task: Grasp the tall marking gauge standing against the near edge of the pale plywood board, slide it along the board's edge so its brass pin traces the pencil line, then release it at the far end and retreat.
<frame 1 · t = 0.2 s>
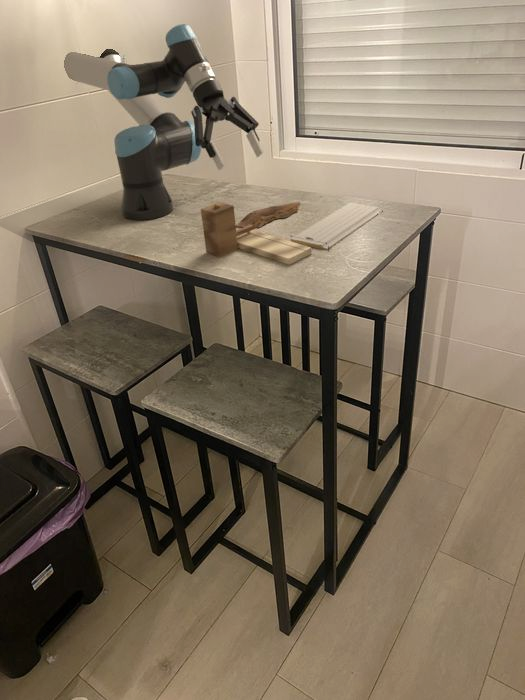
hand: (241, 161, 142), 16 cm above the table, tool tilted 35°, fingers open, 13 cm apart
baseboard molding: (341, 229, 141), on the table
gauge: (222, 250, 131), on the table
board: (266, 248, 131), on the table
wooden fragment: (271, 216, 152), on the table
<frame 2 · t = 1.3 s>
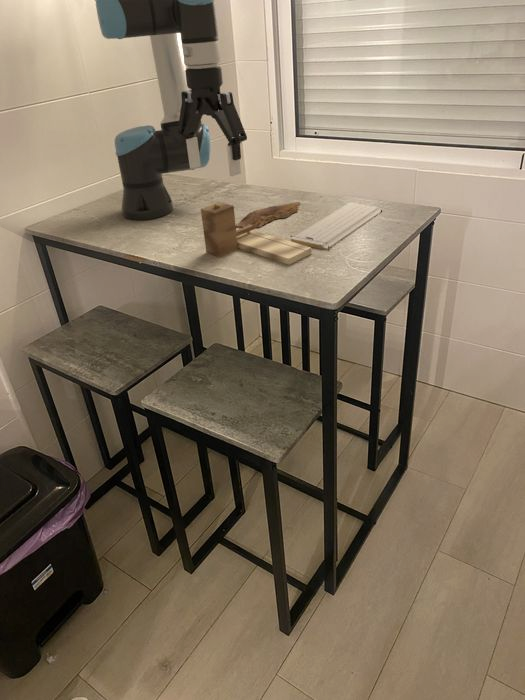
hand: (214, 171, 121), 19 cm above the table, tool pointing down, fingers open, 13 cm apart
nothing on the table moved.
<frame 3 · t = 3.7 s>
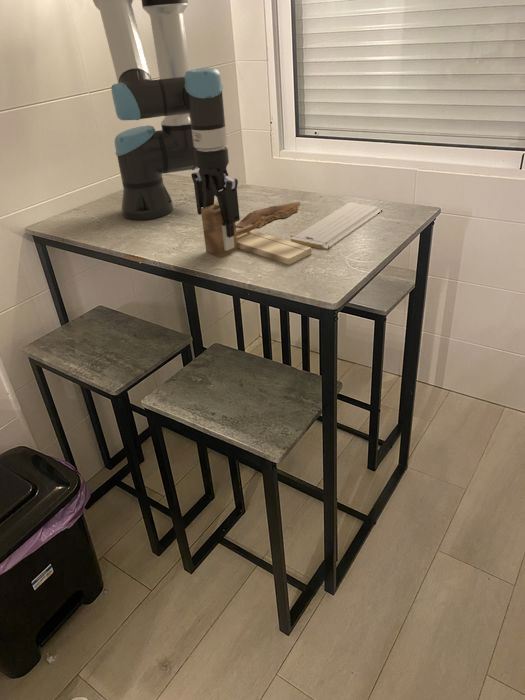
hand: (221, 245, 131), 1 cm above the table, tool pointing down, fingers closed on gauge, 5 cm apart
gauge: (222, 250, 131), on the table, touching gripper
everything else where it was.
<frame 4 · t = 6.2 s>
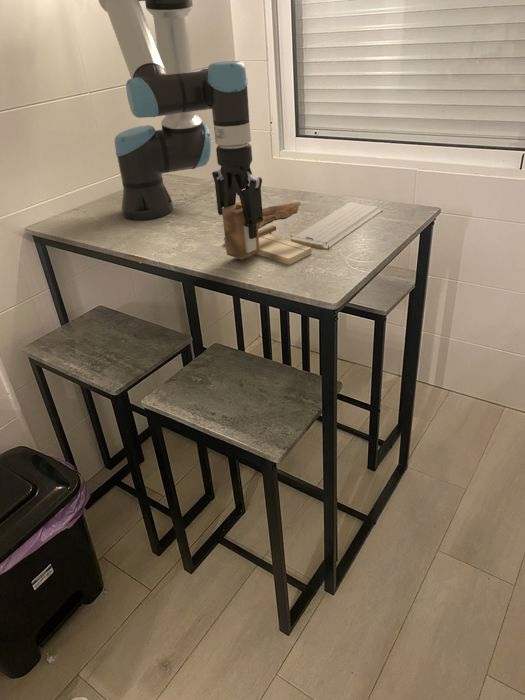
hand: (242, 247, 125), 3 cm above the table, tool pointing down, fingers closed on gauge, 5 cm apart
gauge: (243, 252, 126), point 1 cm above the table, touching gripper
everything else where it was.
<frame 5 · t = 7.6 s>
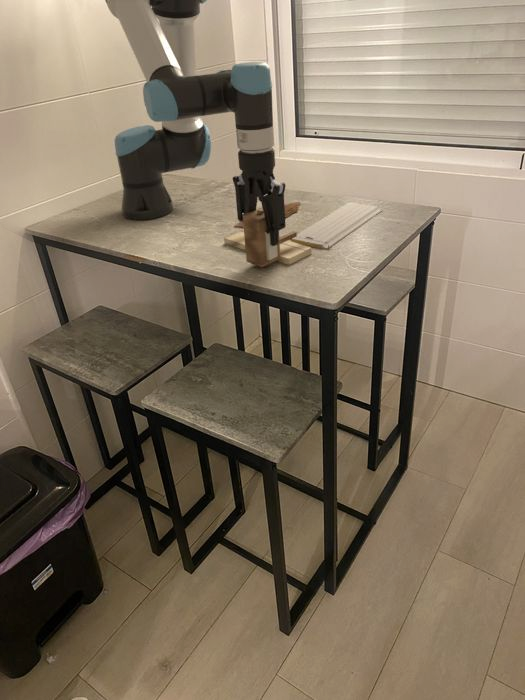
hand: (263, 254, 121), 3 cm above the table, tool pointing down, fingers closed on gauge, 5 cm apart
gauge: (263, 260, 122), point 1 cm above the table, touching gripper
everything else where it was.
when the fingers open (1 cm above the table, at t = 8.9 s): gauge stays where it is, on the table.
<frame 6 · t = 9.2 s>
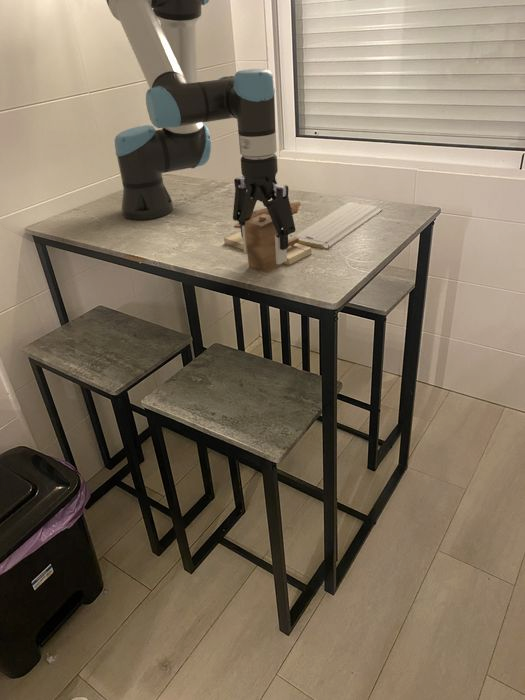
hand: (265, 256, 121), 2 cm above the table, tool pointing down, fingers open, 9 cm apart
gauge: (265, 265, 122), on the table
everything else where it was.
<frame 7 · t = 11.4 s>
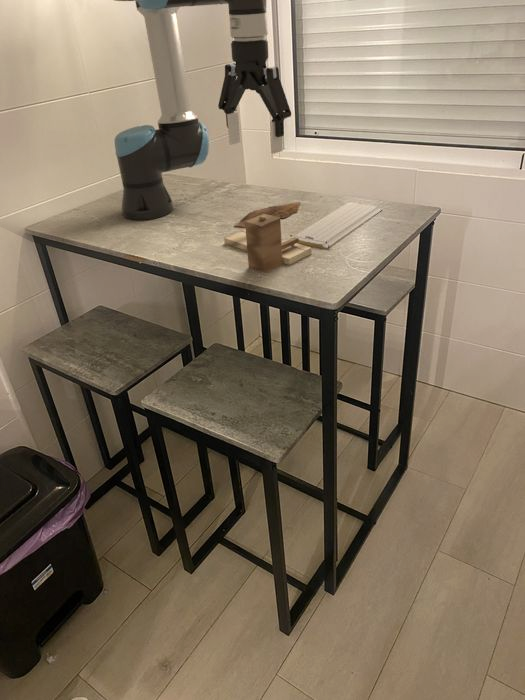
hand: (255, 147, 120), 23 cm above the table, tool pointing down, fingers open, 13 cm apart
nothing on the table moved.
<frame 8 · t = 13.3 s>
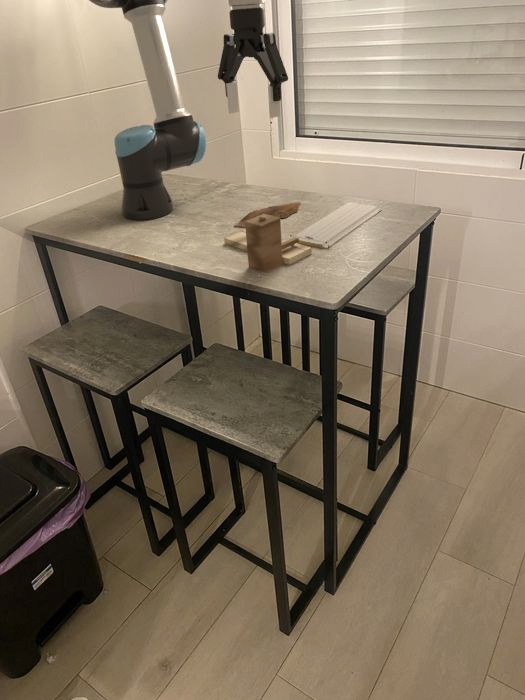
hand: (253, 114, 125), 29 cm above the table, tool pointing down, fingers open, 13 cm apart
nothing on the table moved.
at the end: gauge inside the target area (0.7 cm from its centre), on the table; gauge tilted 0°; the gripper is holding nothing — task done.
